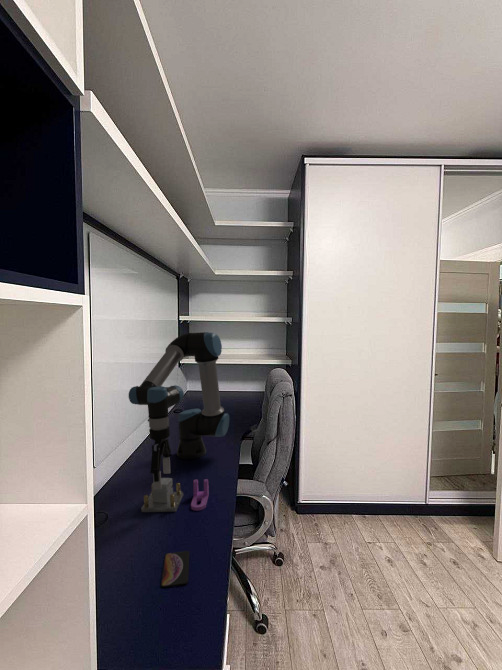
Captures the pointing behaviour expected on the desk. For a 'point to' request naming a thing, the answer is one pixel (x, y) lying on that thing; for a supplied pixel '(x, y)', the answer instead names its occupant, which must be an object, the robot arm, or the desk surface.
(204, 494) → the bracket
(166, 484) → the skincare box
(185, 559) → the smartphone
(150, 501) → the chassis
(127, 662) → the desk surface
